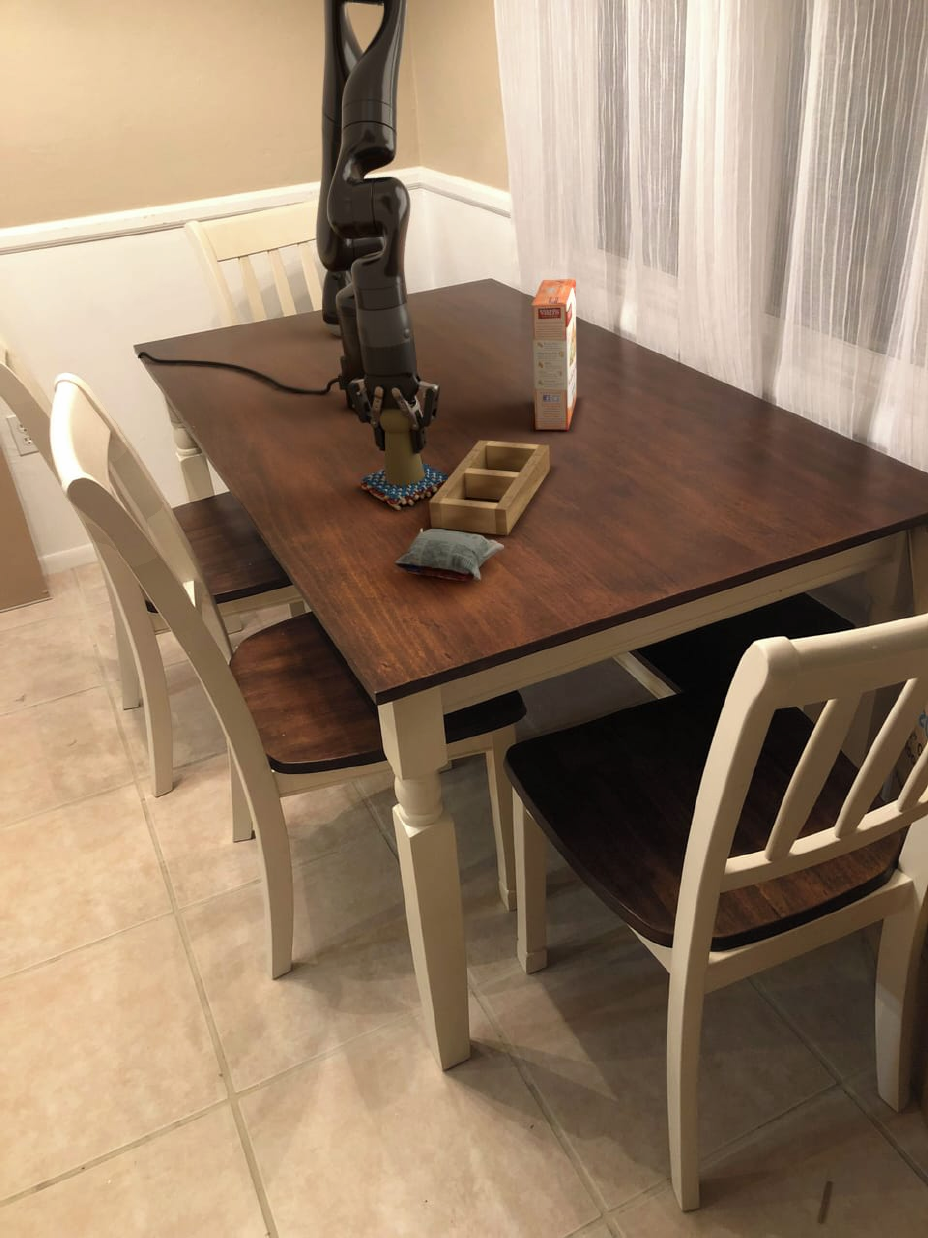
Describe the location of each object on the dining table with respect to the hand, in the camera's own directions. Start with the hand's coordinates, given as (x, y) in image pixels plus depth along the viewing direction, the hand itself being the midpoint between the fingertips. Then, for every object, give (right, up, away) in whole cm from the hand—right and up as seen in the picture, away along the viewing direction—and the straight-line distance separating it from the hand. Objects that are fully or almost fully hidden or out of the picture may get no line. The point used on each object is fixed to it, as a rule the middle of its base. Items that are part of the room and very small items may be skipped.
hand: (401, 449), depth 140 cm
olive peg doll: (0, -4, +3) cm, 5 cm away
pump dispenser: (-16, +38, +70) cm, 81 cm away
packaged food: (+8, -19, -16) cm, 26 cm away
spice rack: (+13, -7, -1) cm, 15 cm away
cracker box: (+25, +10, +22) cm, 35 cm away
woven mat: (0, -6, +4) cm, 7 cm away
